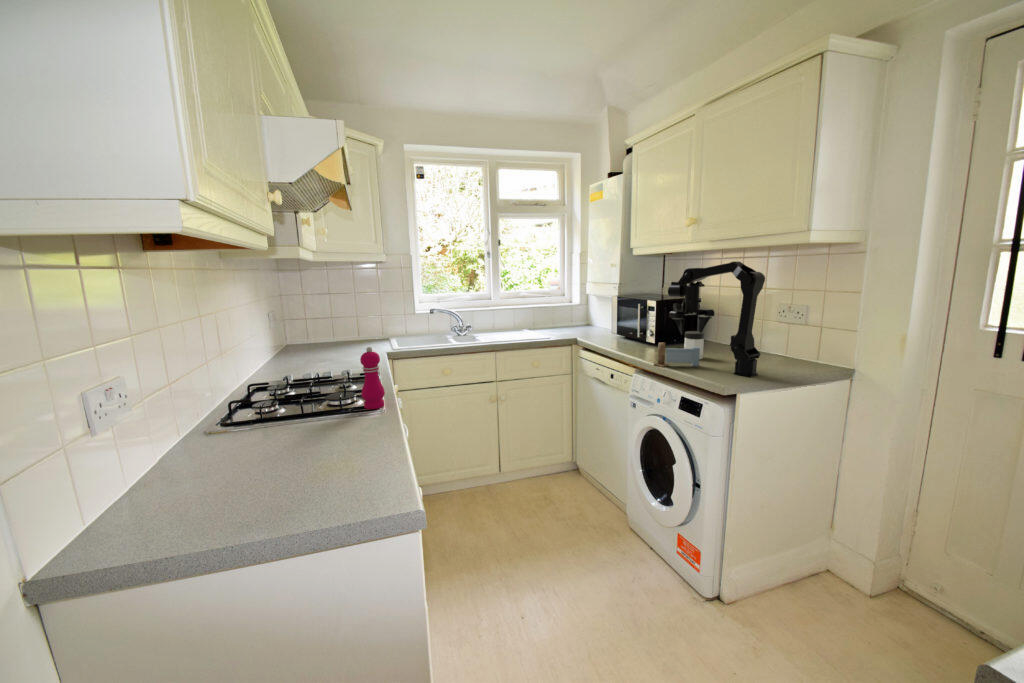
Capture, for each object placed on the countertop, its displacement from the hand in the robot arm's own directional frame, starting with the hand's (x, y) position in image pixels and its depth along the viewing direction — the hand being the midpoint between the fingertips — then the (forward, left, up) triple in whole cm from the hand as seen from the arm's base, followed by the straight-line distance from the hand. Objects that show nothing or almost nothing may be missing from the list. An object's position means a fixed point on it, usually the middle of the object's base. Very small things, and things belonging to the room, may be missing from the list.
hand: (691, 333), depth 180 cm
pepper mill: (+31, +129, -14) cm, 134 cm away
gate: (-1, +7, -13) cm, 15 cm away
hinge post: (+5, +13, -13) cm, 19 cm away
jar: (+5, -11, -14) cm, 19 cm away
